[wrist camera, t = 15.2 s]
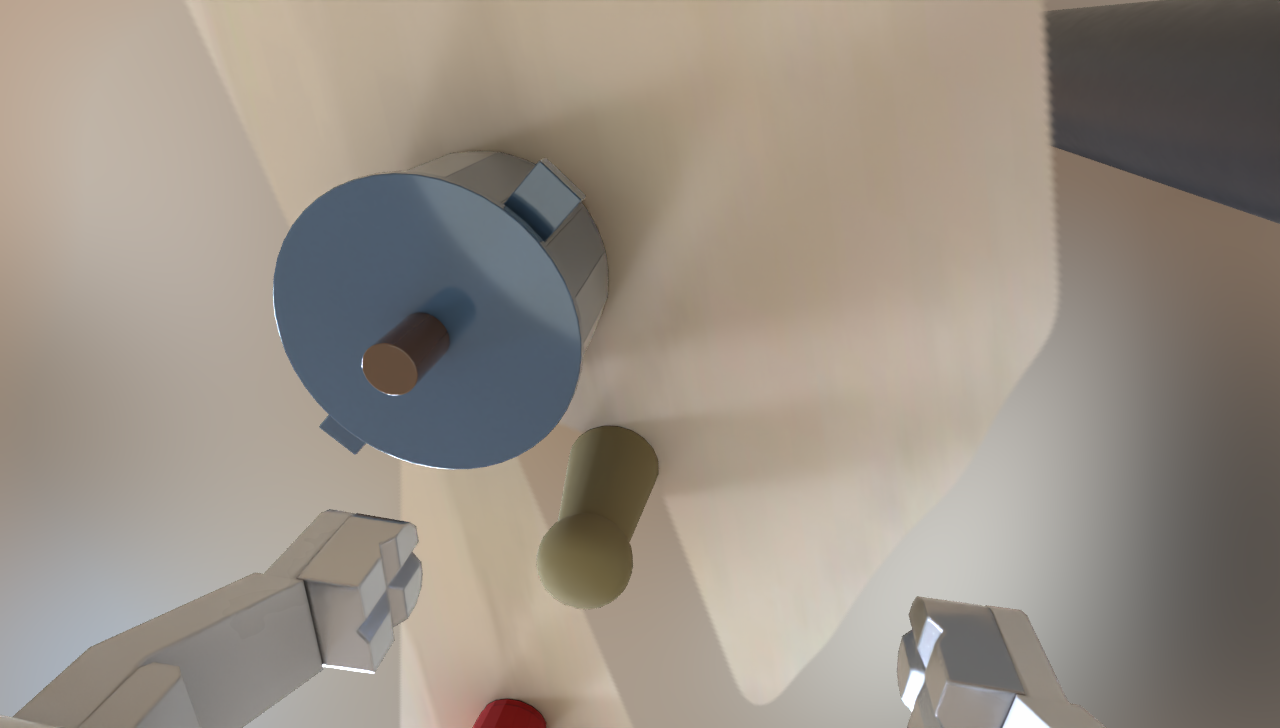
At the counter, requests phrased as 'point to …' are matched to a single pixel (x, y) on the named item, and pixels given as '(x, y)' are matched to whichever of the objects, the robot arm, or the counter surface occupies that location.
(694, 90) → the counter surface
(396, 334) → the lid
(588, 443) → the cork
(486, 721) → the plastic cup
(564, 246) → the pot
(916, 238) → the counter surface
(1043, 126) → the counter surface
